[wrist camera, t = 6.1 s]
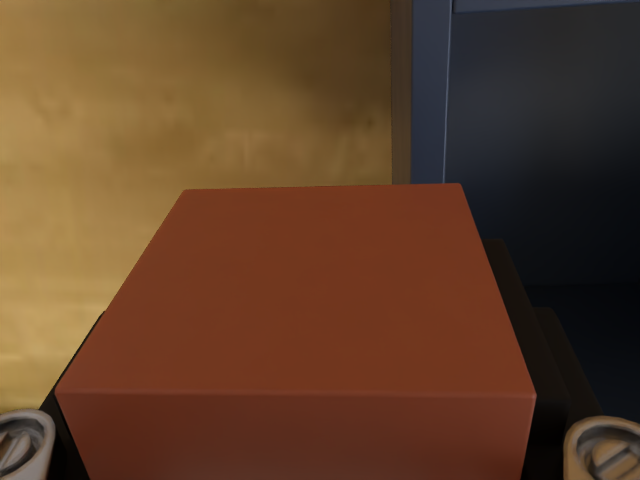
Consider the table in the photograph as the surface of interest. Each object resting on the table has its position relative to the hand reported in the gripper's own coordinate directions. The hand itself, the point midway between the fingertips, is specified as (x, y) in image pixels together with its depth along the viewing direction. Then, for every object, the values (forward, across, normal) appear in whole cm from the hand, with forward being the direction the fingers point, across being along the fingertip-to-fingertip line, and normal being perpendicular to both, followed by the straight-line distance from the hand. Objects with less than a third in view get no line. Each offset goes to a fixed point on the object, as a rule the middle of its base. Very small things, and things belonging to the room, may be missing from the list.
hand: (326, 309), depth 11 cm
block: (0, 0, 0) cm, 0 cm away
